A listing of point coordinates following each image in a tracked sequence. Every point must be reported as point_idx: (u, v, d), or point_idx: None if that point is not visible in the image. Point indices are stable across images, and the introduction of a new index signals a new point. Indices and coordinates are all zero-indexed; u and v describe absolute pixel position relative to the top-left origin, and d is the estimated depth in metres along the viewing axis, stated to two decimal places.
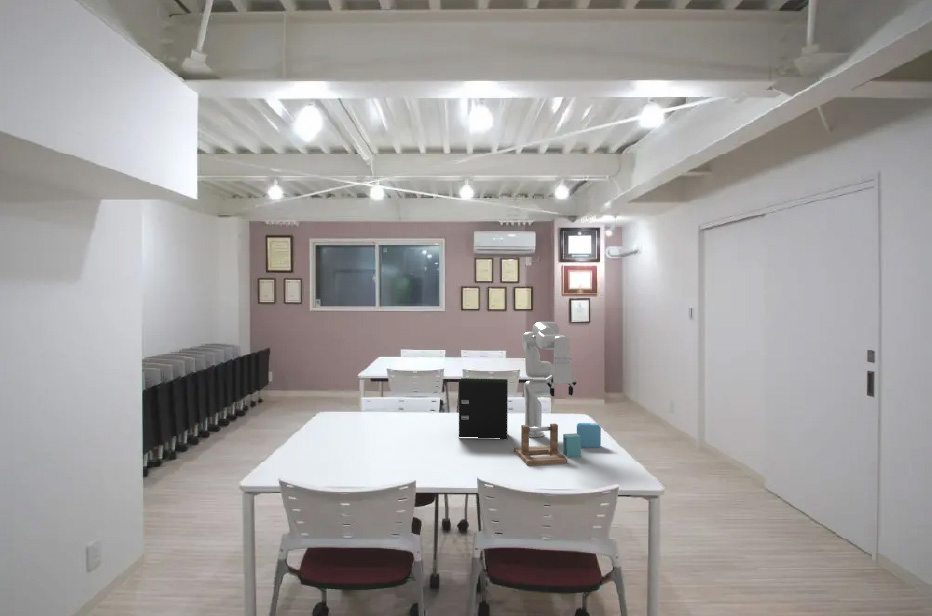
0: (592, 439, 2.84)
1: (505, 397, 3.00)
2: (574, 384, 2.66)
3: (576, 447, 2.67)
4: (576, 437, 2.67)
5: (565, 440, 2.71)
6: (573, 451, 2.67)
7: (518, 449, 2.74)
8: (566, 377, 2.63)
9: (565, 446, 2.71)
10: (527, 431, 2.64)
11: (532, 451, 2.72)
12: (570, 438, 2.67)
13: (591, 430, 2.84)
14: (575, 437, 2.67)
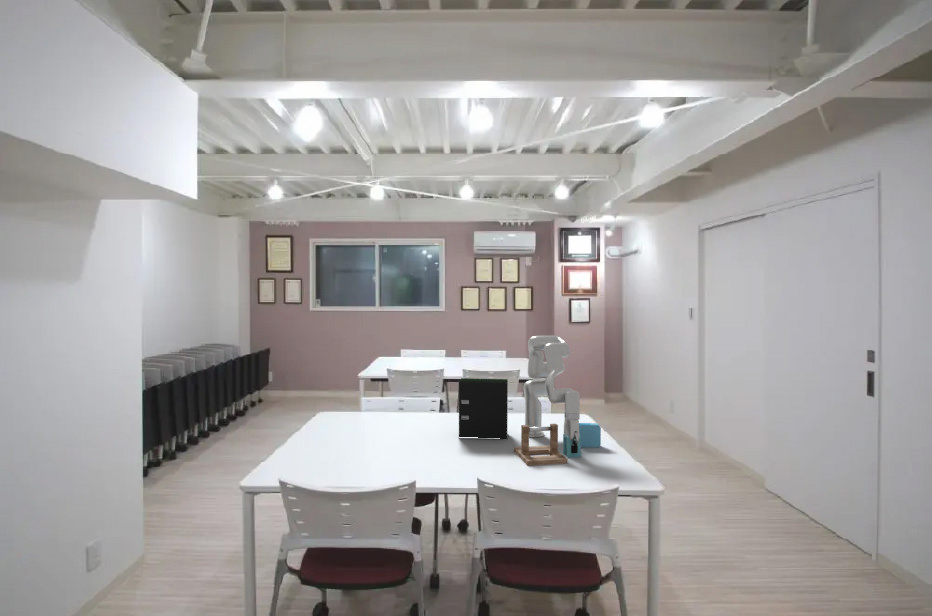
0: (592, 439, 2.84)
1: (505, 397, 3.00)
2: None
3: None
4: None
5: (565, 440, 2.71)
6: None
7: (518, 449, 2.74)
8: None
9: (565, 446, 2.71)
10: (527, 431, 2.64)
11: (532, 451, 2.72)
12: None
13: (591, 430, 2.84)
14: None
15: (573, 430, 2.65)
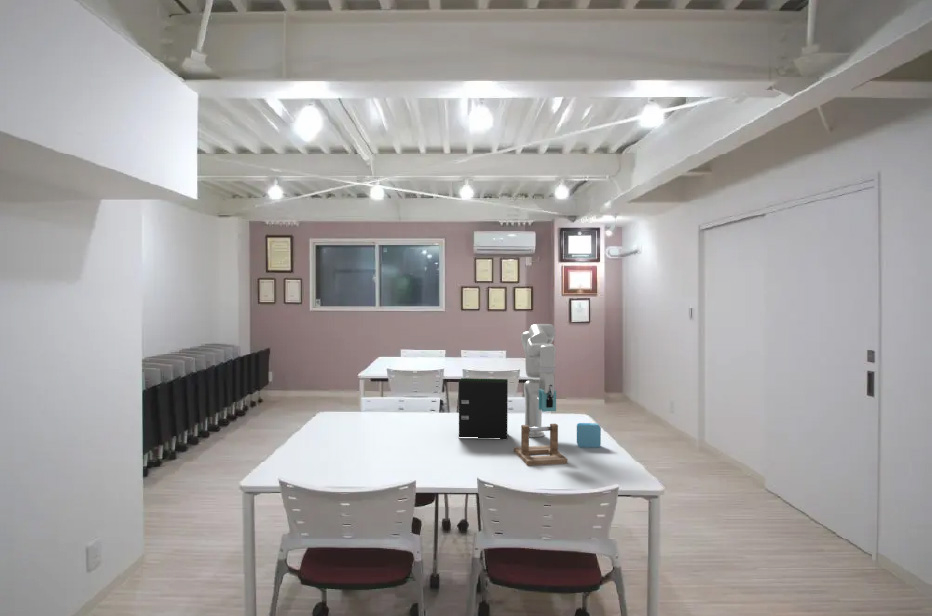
0: (592, 439, 2.84)
1: (505, 397, 3.00)
2: None
3: None
4: None
5: (540, 395, 2.68)
6: None
7: (518, 449, 2.74)
8: None
9: (540, 401, 2.69)
10: (527, 431, 2.64)
11: (532, 451, 2.72)
12: None
13: (591, 430, 2.84)
14: None
15: (548, 384, 2.62)
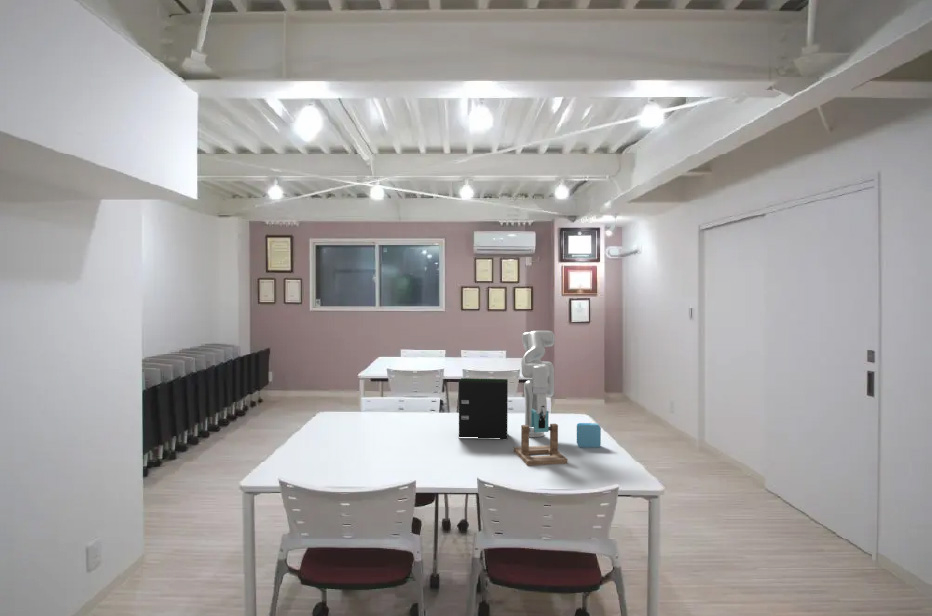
0: (592, 439, 2.84)
1: (505, 397, 3.00)
2: None
3: None
4: None
5: (533, 415, 2.68)
6: None
7: (518, 449, 2.74)
8: None
9: (533, 421, 2.68)
10: (527, 431, 2.64)
11: (532, 451, 2.72)
12: None
13: (591, 430, 2.84)
14: None
15: (540, 405, 2.61)
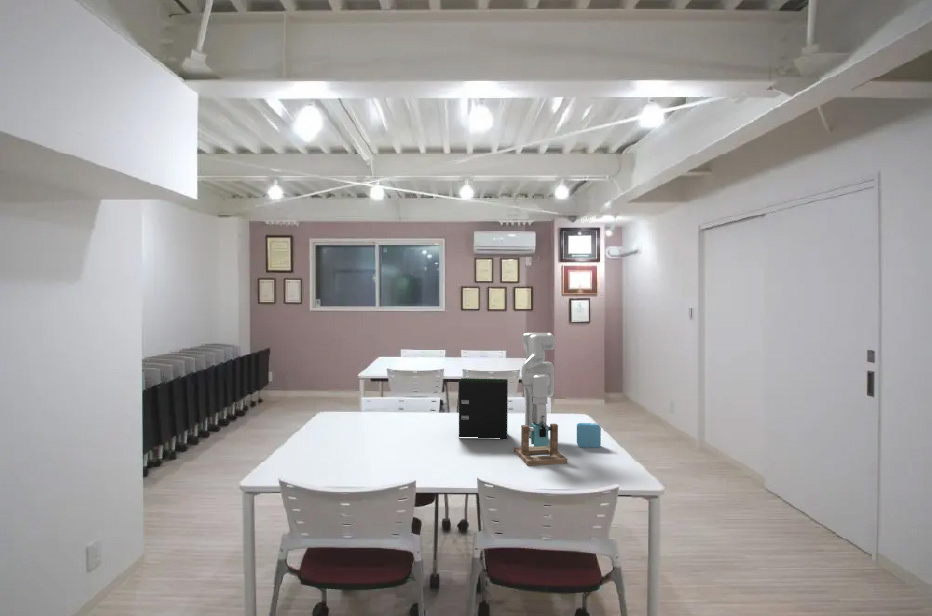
0: (592, 439, 2.84)
1: (505, 397, 3.00)
2: None
3: None
4: None
5: None
6: (541, 441, 2.64)
7: (518, 449, 2.74)
8: None
9: (533, 436, 2.68)
10: (527, 431, 2.64)
11: (532, 451, 2.72)
12: (537, 427, 2.64)
13: (591, 430, 2.84)
14: None
15: (540, 414, 2.62)
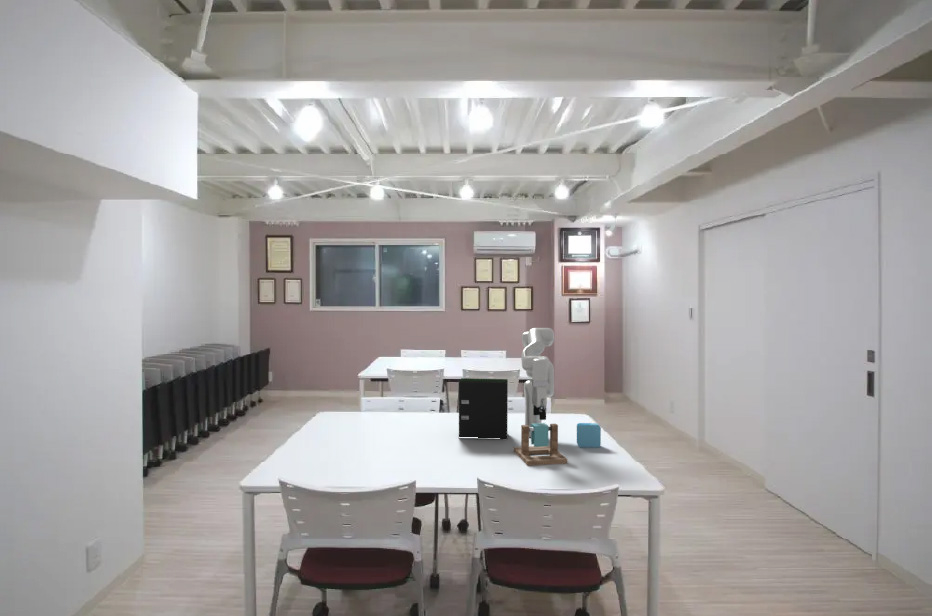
0: (592, 439, 2.84)
1: (505, 397, 3.00)
2: None
3: (544, 436, 2.64)
4: (543, 426, 2.64)
5: None
6: (541, 441, 2.64)
7: (518, 449, 2.74)
8: None
9: (533, 436, 2.68)
10: (527, 431, 2.64)
11: (532, 451, 2.72)
12: (537, 427, 2.64)
13: (591, 430, 2.84)
14: (542, 426, 2.64)
15: (540, 397, 2.62)
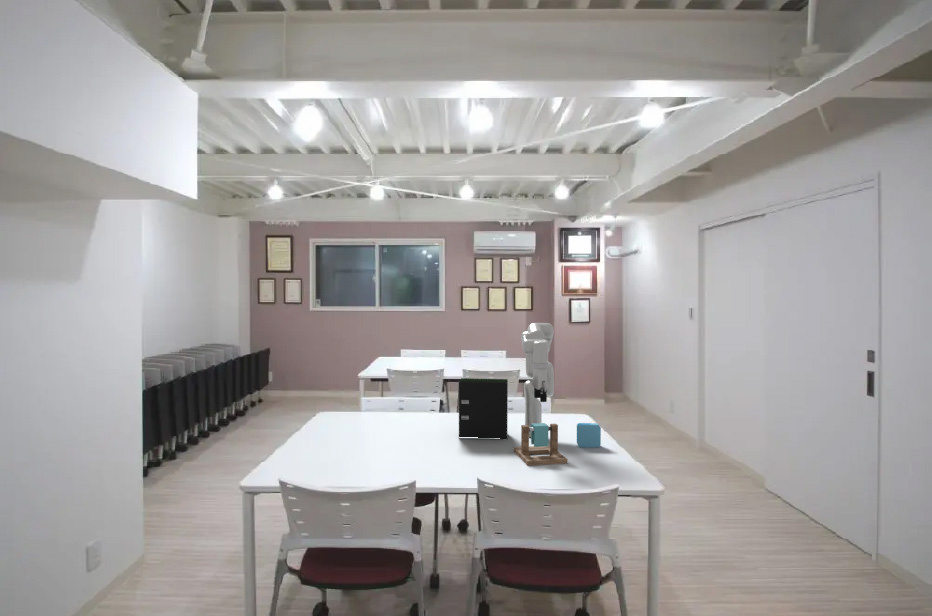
0: (592, 439, 2.84)
1: (505, 397, 3.00)
2: None
3: (544, 436, 2.64)
4: (543, 426, 2.64)
5: None
6: (541, 441, 2.64)
7: (518, 449, 2.74)
8: None
9: (533, 436, 2.68)
10: (527, 431, 2.64)
11: (532, 451, 2.72)
12: (537, 427, 2.64)
13: (591, 430, 2.84)
14: (542, 426, 2.64)
15: (541, 380, 2.63)
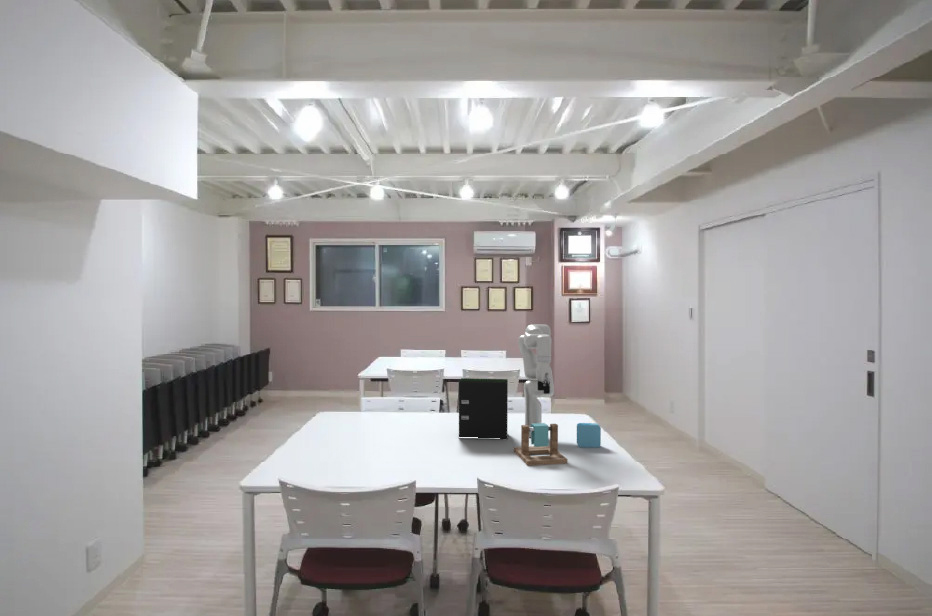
0: (592, 439, 2.84)
1: (505, 397, 3.00)
2: None
3: (544, 436, 2.64)
4: (543, 426, 2.64)
5: None
6: (541, 441, 2.64)
7: (518, 449, 2.74)
8: None
9: (533, 436, 2.68)
10: (527, 431, 2.64)
11: (532, 451, 2.72)
12: (537, 427, 2.64)
13: (591, 430, 2.84)
14: (542, 426, 2.64)
15: (544, 372, 2.74)
